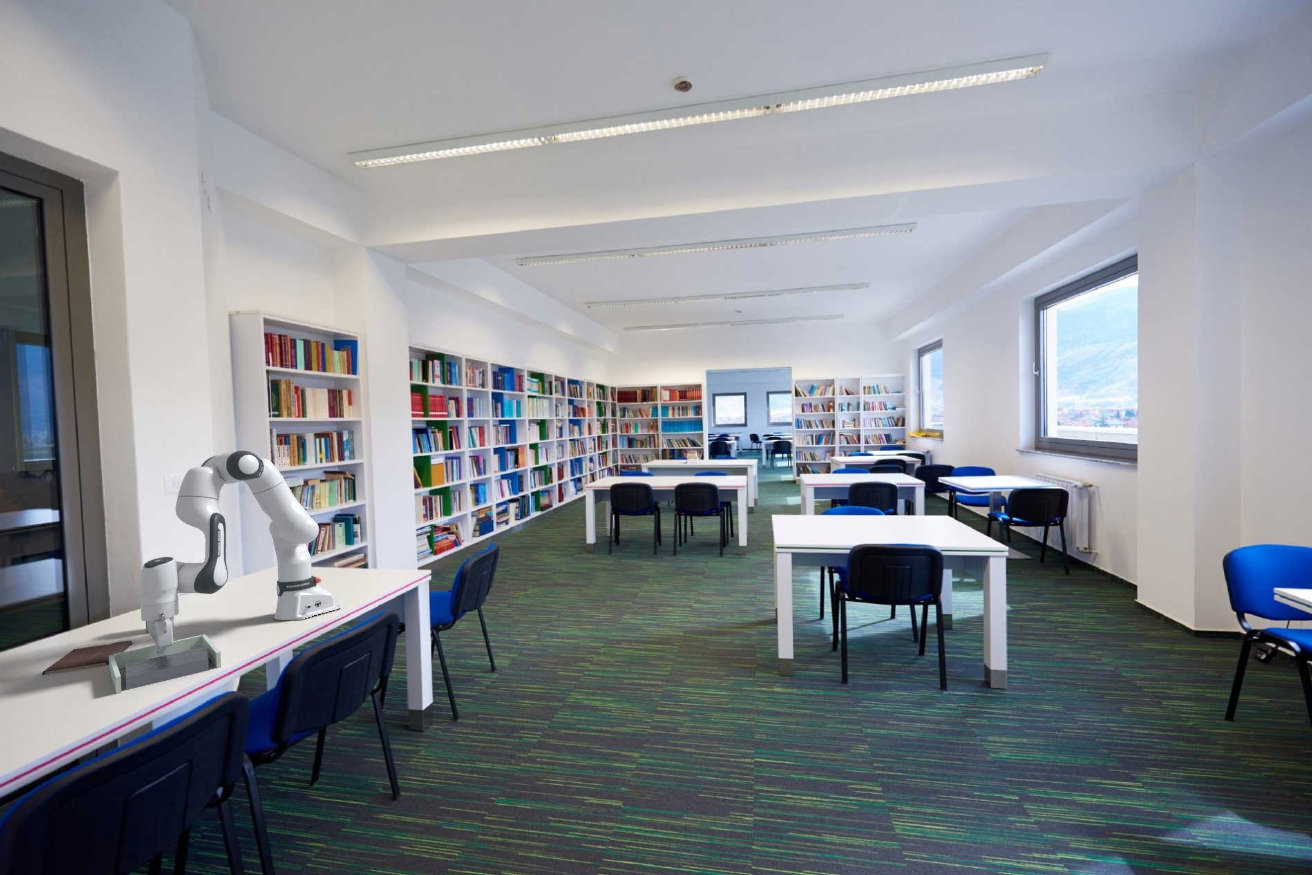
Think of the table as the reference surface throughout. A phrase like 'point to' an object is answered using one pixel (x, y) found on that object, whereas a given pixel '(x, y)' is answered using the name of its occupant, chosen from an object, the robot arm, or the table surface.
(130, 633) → the table surface
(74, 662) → the notebook
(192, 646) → the sage box
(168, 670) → the cover plate
